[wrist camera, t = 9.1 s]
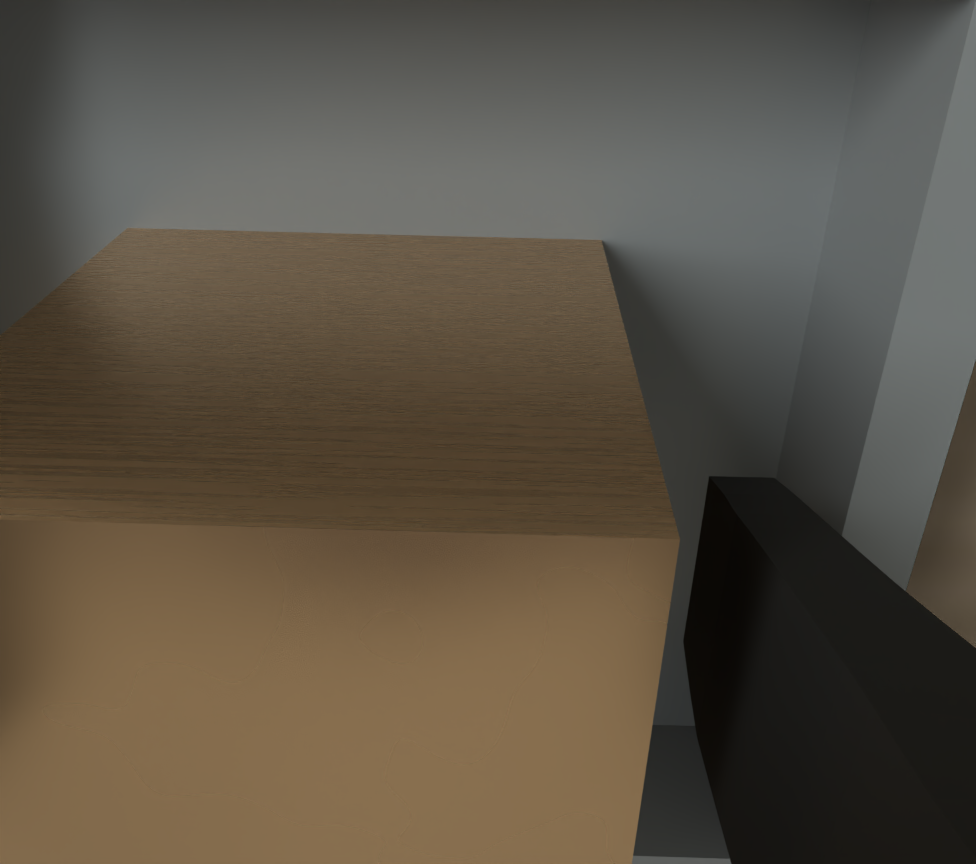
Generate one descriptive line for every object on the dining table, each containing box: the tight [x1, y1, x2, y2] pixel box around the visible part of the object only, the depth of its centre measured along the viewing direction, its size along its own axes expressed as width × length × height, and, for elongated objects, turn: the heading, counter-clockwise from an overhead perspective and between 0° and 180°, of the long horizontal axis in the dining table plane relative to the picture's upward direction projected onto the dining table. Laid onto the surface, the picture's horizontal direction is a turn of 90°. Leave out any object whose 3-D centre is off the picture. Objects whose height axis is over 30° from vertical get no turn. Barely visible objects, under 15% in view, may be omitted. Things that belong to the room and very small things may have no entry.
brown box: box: [0, 228, 680, 864], centre depth 9 cm, size 5×5×6 cm
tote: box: [0, 0, 976, 864], centre depth 11 cm, size 12×12×3 cm
